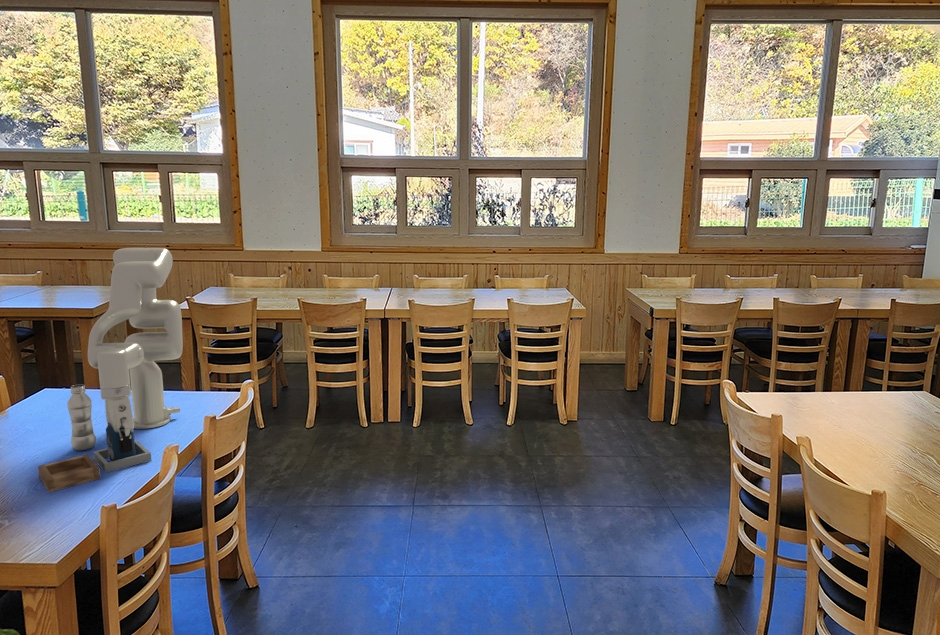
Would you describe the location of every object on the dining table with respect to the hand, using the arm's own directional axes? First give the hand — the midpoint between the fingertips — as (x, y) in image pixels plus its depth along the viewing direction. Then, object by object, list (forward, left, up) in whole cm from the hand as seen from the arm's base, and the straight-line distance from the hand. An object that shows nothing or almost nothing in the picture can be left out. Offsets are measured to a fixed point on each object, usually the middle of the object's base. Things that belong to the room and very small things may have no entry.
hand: (121, 447), depth 178 cm
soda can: (0, 0, -4) cm, 4 cm away
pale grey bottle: (+6, -17, -4) cm, 19 cm away
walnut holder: (+14, +3, -4) cm, 15 cm away
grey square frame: (0, 0, -4) cm, 4 cm away
